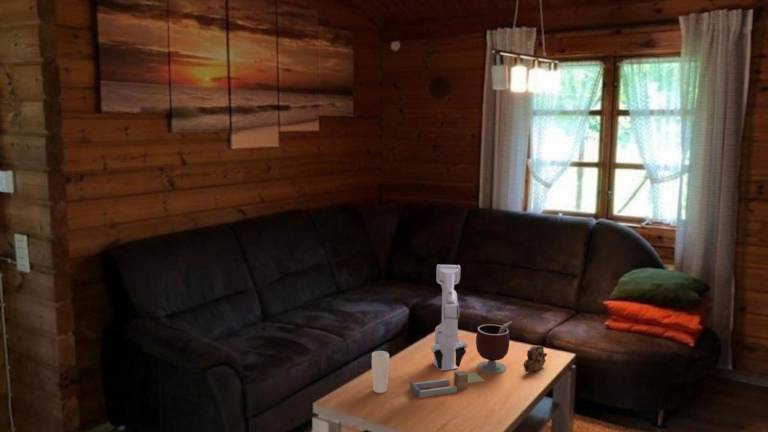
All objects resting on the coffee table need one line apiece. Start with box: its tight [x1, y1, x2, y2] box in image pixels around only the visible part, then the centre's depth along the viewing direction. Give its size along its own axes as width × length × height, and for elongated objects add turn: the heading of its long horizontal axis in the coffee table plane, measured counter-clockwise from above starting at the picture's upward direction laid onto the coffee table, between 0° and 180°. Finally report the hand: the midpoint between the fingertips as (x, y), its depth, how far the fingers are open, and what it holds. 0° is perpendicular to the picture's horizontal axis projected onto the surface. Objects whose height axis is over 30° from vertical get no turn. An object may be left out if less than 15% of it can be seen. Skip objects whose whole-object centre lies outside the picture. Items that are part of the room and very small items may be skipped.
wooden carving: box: [522, 345, 548, 373], centre depth 266 cm, size 16×5×10 cm, turn 143°
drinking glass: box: [371, 350, 390, 394], centre depth 243 cm, size 7×7×15 cm
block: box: [453, 370, 469, 391], centre depth 248 cm, size 4×4×6 cm
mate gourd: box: [475, 321, 513, 375], centre depth 266 cm, size 16×14×20 cm
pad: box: [466, 372, 485, 384], centre depth 257 cm, size 8×8×1 cm
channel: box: [409, 378, 458, 399], centre depth 245 cm, size 8×16×3 cm, turn 109°
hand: (448, 367), depth 246 cm, fingers open, 7 cm apart
